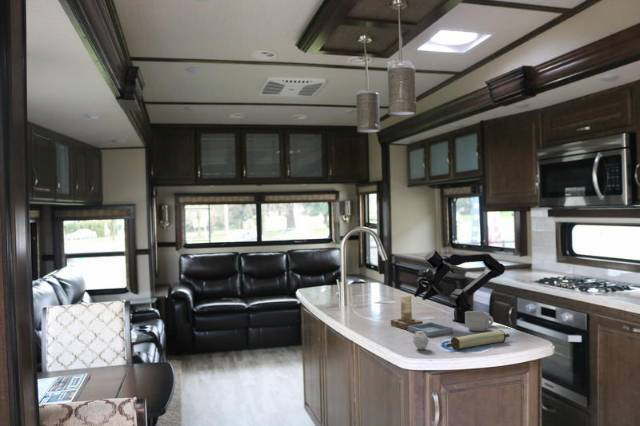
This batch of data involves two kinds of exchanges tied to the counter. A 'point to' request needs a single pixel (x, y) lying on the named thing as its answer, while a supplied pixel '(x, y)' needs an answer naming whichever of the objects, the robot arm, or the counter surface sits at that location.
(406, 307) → the dowel
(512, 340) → the counter surface
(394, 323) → the socket block
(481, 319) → the teacup
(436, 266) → the robot arm
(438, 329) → the tray
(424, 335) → the grey round lump
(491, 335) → the rolling pin
